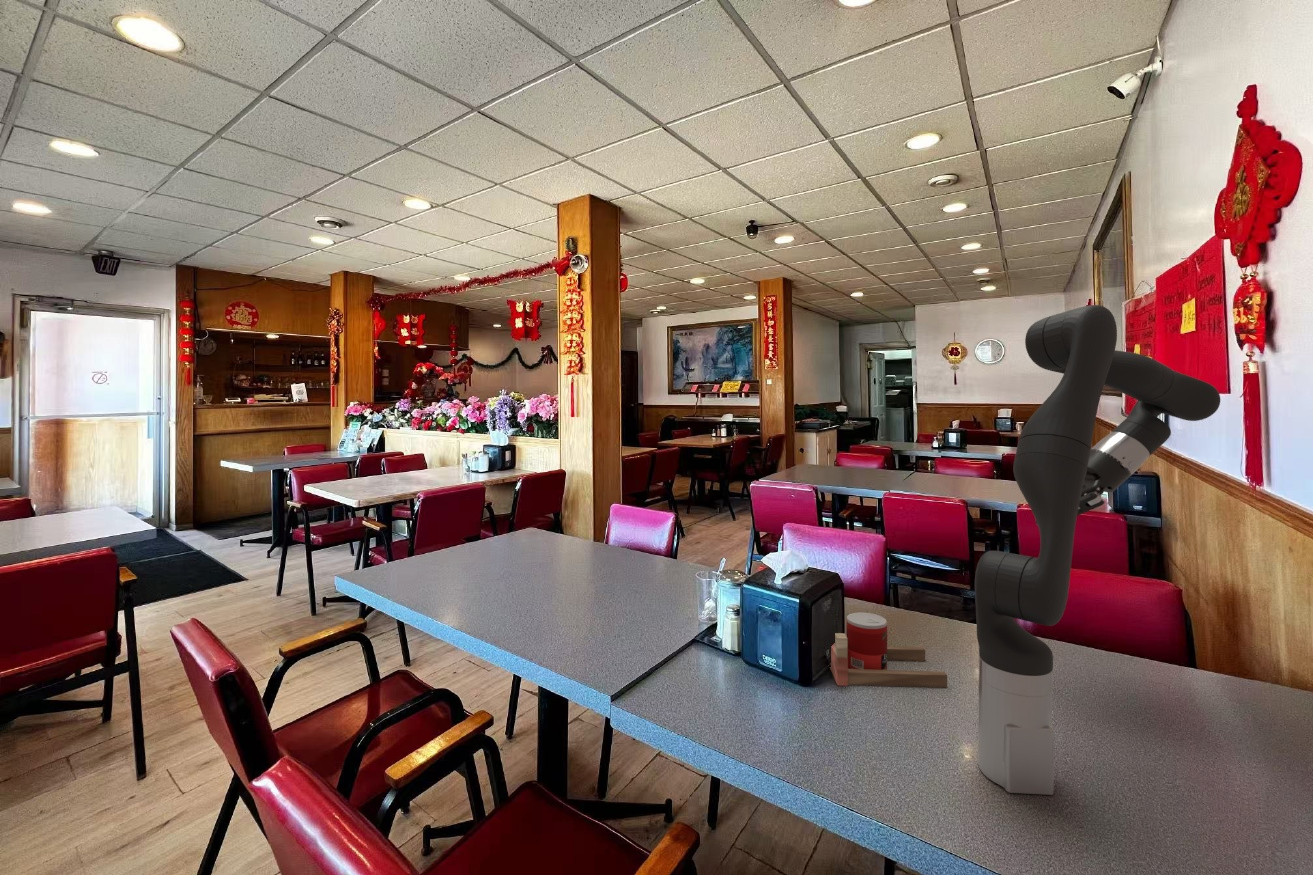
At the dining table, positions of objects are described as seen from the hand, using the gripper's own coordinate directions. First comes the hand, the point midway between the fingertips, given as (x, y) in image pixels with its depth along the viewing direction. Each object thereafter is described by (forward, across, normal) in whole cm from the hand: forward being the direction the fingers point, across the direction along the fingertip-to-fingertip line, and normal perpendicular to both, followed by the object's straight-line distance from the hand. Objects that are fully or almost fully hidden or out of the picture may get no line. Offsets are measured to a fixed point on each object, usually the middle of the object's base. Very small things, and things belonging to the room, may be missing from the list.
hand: (1040, 526), depth 106 cm
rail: (+42, -6, +3) cm, 43 cm away
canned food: (+44, -7, +1) cm, 45 cm away
